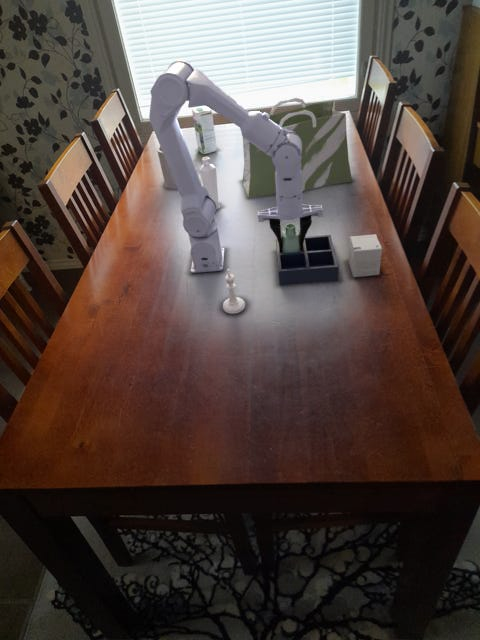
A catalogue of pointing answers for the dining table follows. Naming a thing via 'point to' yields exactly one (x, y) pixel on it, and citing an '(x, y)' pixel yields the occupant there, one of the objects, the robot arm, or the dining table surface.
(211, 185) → the perfume bottle
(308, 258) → the divided tray
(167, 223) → the dining table surface
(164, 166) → the cup
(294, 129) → the grocery bag
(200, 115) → the syrup box
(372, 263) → the white cardboard box
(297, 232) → the bottle
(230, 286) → the chess piece
